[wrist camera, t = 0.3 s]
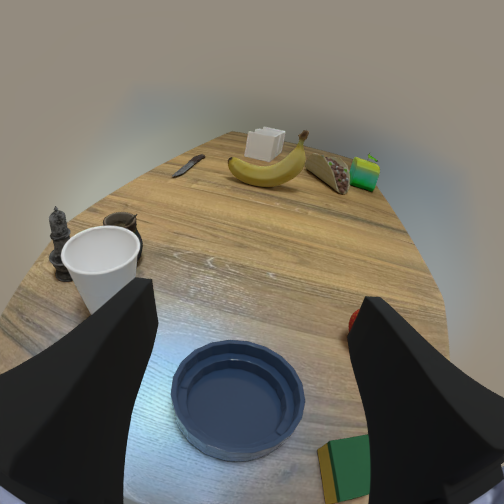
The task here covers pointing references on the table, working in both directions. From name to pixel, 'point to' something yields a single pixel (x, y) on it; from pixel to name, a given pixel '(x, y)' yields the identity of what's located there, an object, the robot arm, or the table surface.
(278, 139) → the storage container
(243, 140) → the table surface
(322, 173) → the taco
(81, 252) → the cup
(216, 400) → the bowl
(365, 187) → the leaf-topped green cube
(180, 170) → the knife
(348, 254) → the table surface
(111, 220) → the mate gourd
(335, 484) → the sponge
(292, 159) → the banana
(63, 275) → the chess piece
